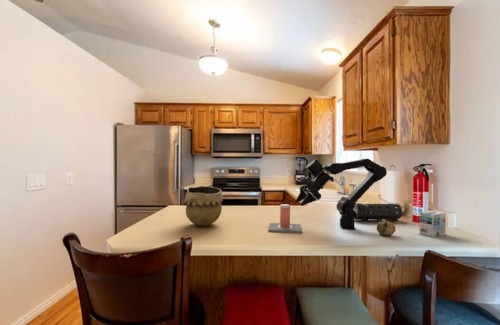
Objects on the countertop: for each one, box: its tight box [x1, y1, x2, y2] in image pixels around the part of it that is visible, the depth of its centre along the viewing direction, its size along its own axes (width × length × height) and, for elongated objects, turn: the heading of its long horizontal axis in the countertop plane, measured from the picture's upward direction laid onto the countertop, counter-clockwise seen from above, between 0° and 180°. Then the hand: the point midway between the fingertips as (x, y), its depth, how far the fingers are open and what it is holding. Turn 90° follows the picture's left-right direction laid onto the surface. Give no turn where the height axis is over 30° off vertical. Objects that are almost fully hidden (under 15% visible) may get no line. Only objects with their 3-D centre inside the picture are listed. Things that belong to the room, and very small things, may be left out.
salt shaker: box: [279, 203, 291, 228], centre depth 135 cm, size 5×5×11 cm
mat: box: [267, 222, 303, 234], centre depth 135 cm, size 16×14×1 cm
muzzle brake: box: [353, 202, 403, 222], centre depth 156 cm, size 10×28×10 cm, turn 94°
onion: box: [376, 219, 397, 237], centre depth 126 cm, size 8×8×8 cm
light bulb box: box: [418, 210, 447, 238], centre depth 128 cm, size 11×7×11 cm, turn 117°
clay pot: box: [182, 185, 224, 227], centre depth 140 cm, size 21×21×20 cm
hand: (298, 203), depth 136 cm, fingers open, 9 cm apart
